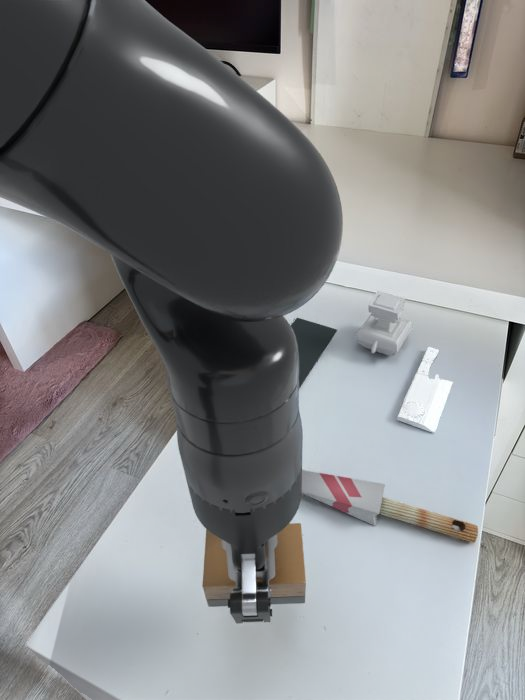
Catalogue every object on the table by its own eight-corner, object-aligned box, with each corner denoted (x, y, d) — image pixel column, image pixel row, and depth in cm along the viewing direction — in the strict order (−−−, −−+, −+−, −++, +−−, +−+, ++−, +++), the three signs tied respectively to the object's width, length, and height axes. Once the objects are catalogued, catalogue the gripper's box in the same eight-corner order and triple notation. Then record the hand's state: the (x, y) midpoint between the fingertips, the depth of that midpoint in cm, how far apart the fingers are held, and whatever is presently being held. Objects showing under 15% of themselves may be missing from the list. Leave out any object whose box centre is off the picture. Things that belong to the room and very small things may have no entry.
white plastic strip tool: (461, 360, 74) (463, 355, 73) (433, 434, 65) (435, 429, 64) (426, 350, 76) (428, 344, 75) (395, 419, 67) (396, 414, 66)
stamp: (392, 370, 74) (400, 326, 68) (350, 355, 76) (354, 311, 71) (412, 334, 79) (421, 290, 73) (372, 321, 82) (378, 278, 76)
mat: (258, 451, 64) (258, 449, 64) (212, 432, 67) (211, 429, 66) (336, 331, 80) (336, 328, 80) (297, 319, 83) (297, 316, 83)
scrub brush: (208, 607, 42) (202, 586, 39) (211, 548, 45) (206, 526, 43) (305, 603, 41) (306, 582, 39) (300, 545, 45) (300, 522, 42)
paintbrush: (302, 458, 59) (480, 513, 54) (301, 471, 61) (473, 525, 56) (292, 485, 57) (478, 545, 52) (291, 498, 59) (471, 557, 53)
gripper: (192, 375, 37) (216, 500, 48) (169, 569, 26) (207, 671, 38) (294, 371, 37) (294, 497, 48) (313, 563, 26) (307, 667, 38)
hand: (255, 573), depth 43 cm, fingers closed on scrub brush, 5 cm apart
